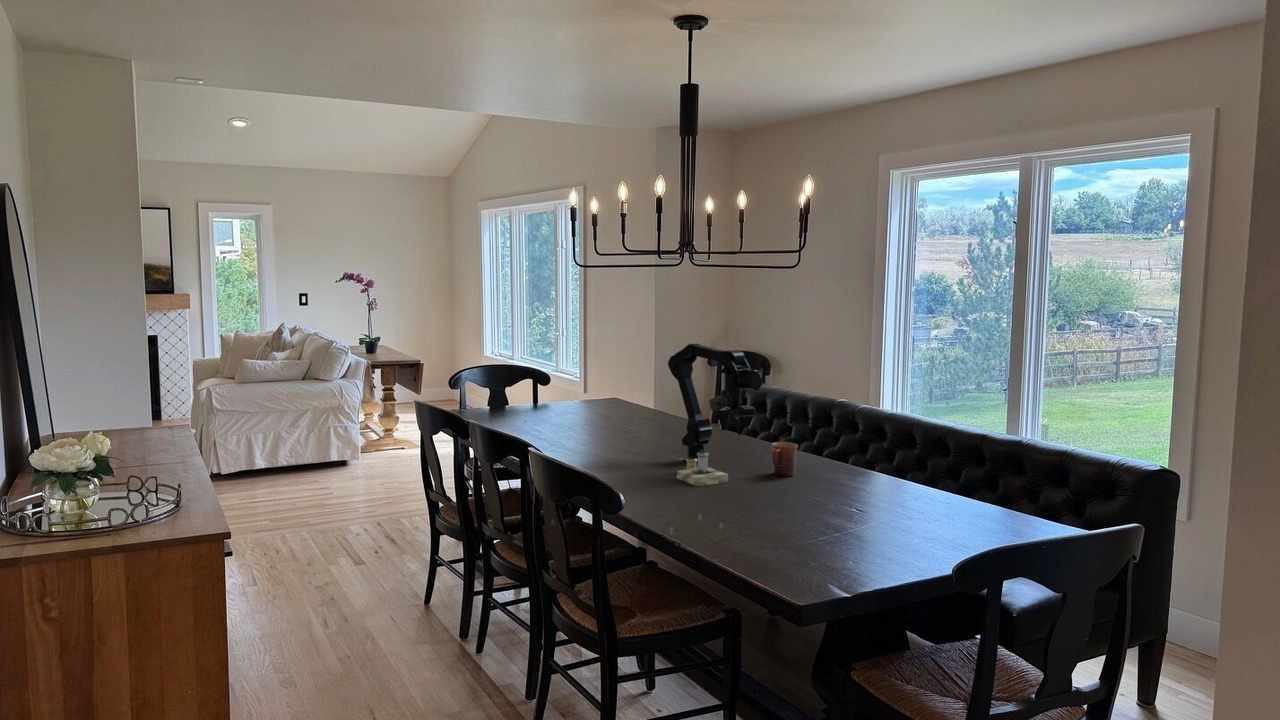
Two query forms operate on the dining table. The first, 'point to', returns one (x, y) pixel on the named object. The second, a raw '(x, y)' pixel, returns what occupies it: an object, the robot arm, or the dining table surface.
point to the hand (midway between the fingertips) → (731, 432)
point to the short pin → (691, 463)
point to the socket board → (702, 477)
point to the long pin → (702, 462)
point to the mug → (784, 458)
